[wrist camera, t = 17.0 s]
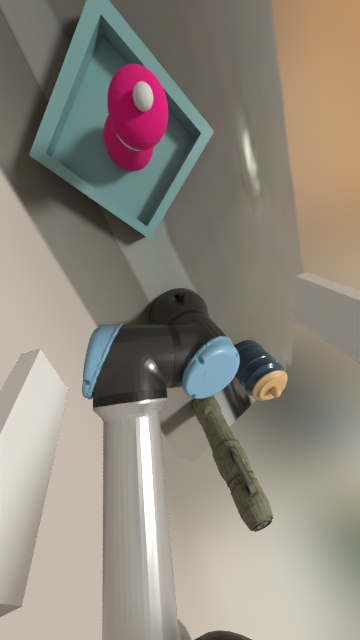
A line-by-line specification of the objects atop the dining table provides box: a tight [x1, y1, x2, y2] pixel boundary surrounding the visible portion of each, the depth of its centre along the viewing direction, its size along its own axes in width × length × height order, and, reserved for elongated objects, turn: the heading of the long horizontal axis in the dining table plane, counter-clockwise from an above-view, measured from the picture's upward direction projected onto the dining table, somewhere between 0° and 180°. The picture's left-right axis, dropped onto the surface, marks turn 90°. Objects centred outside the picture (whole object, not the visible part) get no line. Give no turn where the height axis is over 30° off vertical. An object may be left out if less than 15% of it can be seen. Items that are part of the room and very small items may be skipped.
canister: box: [235, 340, 287, 400], centre depth 62 cm, size 13×13×18 cm
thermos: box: [192, 395, 273, 532], centre depth 60 cm, size 9×12×35 cm
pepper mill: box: [104, 64, 168, 171], centre depth 25 cm, size 7×7×20 cm
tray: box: [29, 0, 214, 239], centre depth 32 cm, size 20×20×4 cm
